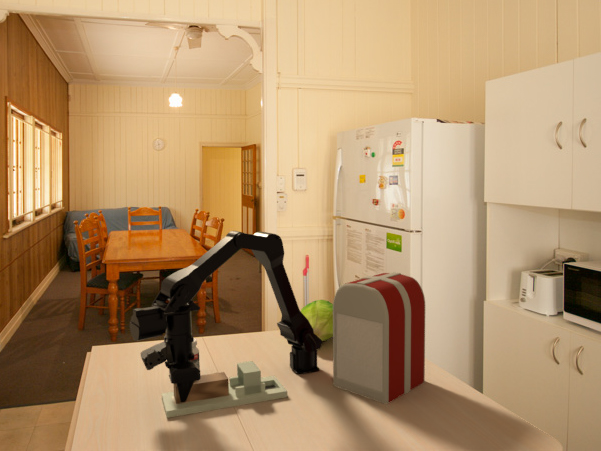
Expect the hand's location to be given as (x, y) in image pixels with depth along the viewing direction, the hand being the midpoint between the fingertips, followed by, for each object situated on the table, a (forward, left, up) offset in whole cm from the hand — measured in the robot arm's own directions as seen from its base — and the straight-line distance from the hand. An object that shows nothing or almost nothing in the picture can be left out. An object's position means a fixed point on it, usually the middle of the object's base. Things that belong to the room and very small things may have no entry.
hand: (181, 397), depth 123 cm
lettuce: (-46, -30, -2) cm, 55 cm away
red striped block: (-48, +6, -2) cm, 48 cm away
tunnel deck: (-10, 0, -2) cm, 10 cm away
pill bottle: (-4, -16, -2) cm, 17 cm away
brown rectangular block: (-5, 0, 0) cm, 5 cm away
